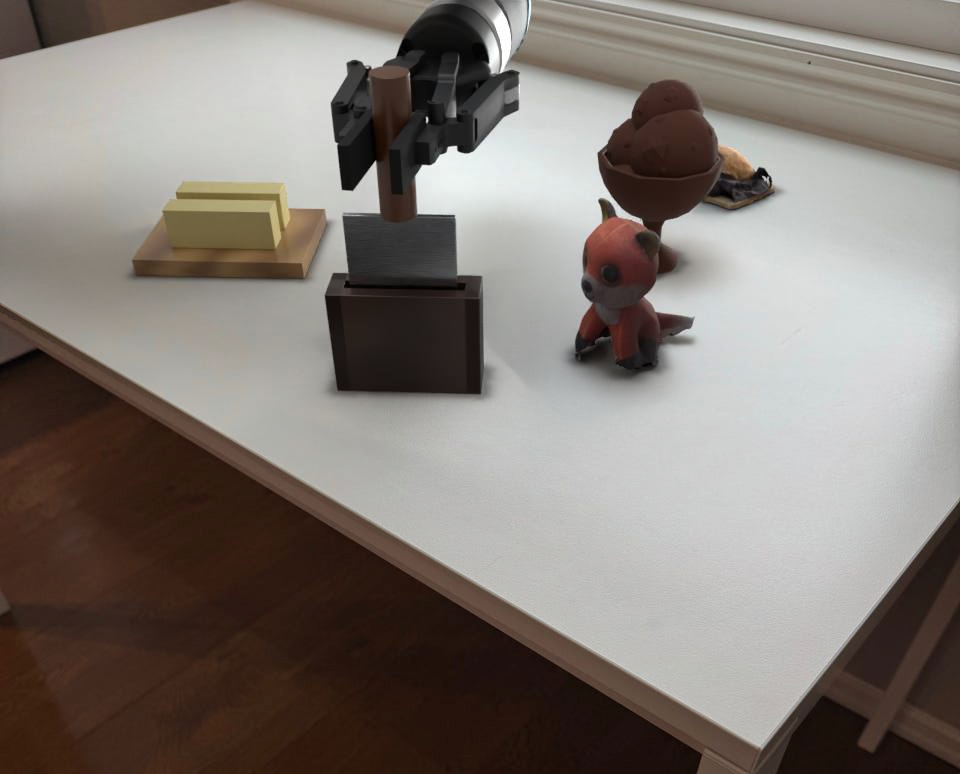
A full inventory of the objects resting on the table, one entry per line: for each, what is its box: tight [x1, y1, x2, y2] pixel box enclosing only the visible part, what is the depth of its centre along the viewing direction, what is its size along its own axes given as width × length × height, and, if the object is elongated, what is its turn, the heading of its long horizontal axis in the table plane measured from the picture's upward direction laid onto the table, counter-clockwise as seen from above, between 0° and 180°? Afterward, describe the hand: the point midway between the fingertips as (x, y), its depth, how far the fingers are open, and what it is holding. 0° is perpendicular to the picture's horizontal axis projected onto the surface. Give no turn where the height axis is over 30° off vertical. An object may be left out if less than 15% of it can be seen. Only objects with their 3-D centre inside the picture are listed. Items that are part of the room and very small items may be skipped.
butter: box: [161, 180, 290, 250], centre depth 92 cm, size 10×7×4 cm
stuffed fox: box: [574, 197, 696, 372], centre depth 75 cm, size 8×11×12 cm
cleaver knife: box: [341, 65, 459, 290], centre depth 68 cm, size 8×3×19 cm, turn 86°
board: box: [131, 207, 328, 279], centre depth 94 cm, size 16×12×2 cm
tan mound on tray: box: [703, 144, 776, 211], centre depth 102 cm, size 11×8×4 cm
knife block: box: [324, 272, 485, 395], centre depth 74 cm, size 11×4×8 cm, turn 86°
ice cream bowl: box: [596, 78, 726, 275], centre depth 86 cm, size 11×11×15 cm
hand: (370, 170), depth 60 cm, fingers closed on cleaver knife, 3 cm apart
